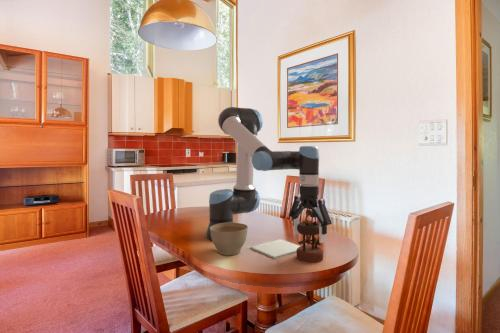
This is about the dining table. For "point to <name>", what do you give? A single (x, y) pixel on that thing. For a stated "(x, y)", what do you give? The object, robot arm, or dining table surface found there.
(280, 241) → the board
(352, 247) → the dining table surface
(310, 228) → the music box
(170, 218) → the dining table surface
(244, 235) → the planter bowl
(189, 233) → the dining table surface
